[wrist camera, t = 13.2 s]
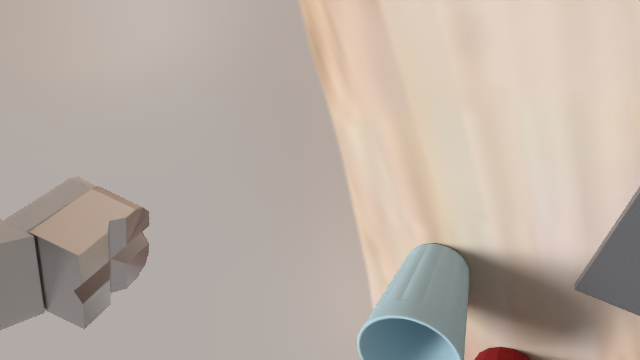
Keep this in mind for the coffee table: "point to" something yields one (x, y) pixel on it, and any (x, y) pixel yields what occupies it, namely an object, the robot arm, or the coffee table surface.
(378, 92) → the coffee table surface
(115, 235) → the robot arm
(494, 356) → the plastic cup
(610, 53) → the coffee table surface
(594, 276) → the flange
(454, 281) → the cup
